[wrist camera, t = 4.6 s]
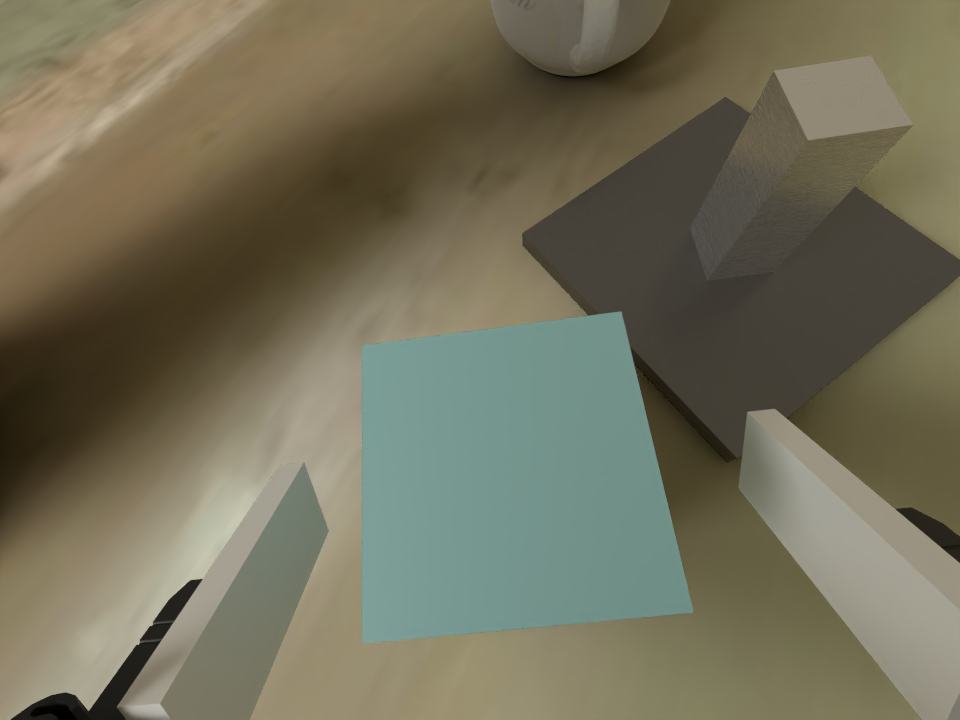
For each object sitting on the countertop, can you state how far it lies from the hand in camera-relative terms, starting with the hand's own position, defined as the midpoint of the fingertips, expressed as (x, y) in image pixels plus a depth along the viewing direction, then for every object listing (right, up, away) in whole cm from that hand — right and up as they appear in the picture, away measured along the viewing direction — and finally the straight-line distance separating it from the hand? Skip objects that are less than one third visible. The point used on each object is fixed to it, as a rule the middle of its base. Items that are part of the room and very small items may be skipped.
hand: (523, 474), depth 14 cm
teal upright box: (0, -2, +6) cm, 6 cm away
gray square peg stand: (+11, +8, +9) cm, 16 cm away
